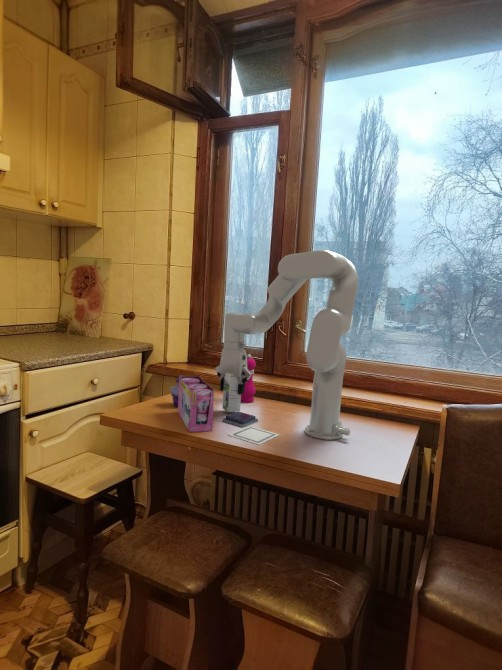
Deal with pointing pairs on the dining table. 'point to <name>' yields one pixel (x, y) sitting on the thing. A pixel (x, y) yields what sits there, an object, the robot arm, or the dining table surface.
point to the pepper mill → (249, 382)
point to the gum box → (195, 403)
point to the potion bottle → (175, 392)
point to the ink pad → (240, 419)
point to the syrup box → (231, 393)
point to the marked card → (254, 435)
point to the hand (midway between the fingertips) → (232, 391)
